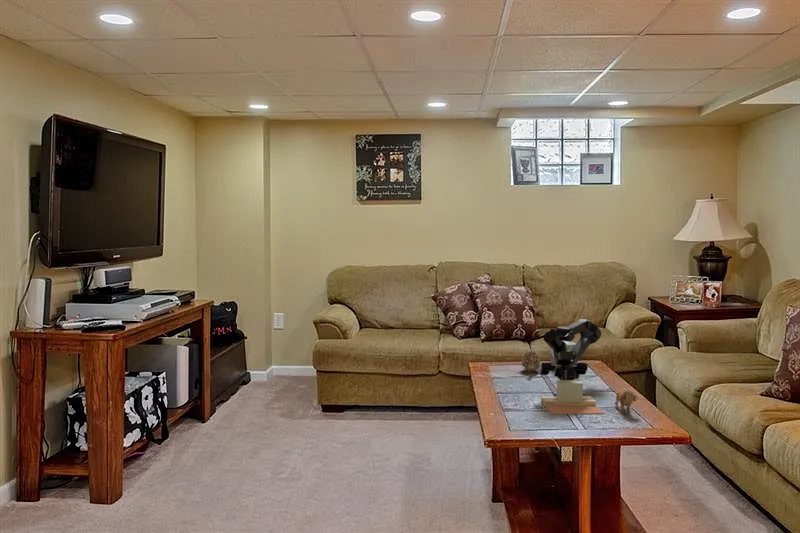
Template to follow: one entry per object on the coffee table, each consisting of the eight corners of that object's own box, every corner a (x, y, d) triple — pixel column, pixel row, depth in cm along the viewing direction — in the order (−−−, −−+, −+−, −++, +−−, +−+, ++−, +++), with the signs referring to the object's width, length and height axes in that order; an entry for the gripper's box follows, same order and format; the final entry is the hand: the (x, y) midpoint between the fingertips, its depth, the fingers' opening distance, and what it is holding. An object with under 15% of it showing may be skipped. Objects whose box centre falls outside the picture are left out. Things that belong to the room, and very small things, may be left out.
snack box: (549, 365, 312) (549, 336, 311) (559, 365, 313) (559, 336, 312) (567, 375, 291) (568, 344, 290) (578, 374, 292) (579, 343, 291)
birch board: (541, 401, 248) (541, 396, 248) (590, 401, 248) (590, 396, 247) (545, 406, 241) (545, 401, 241) (595, 406, 241) (595, 401, 240)
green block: (556, 398, 245) (556, 380, 244) (579, 398, 245) (579, 380, 244) (559, 402, 240) (559, 383, 239) (582, 401, 240) (582, 383, 239)
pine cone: (519, 367, 308) (520, 348, 308) (539, 368, 307) (539, 348, 306) (522, 378, 286) (522, 357, 286) (543, 378, 285) (543, 357, 284)
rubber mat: (545, 406, 240) (545, 406, 240) (596, 406, 240) (596, 405, 240) (551, 414, 231) (551, 413, 231) (604, 413, 231) (604, 413, 231)
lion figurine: (639, 415, 228) (639, 392, 228) (625, 416, 228) (625, 392, 227) (620, 404, 243) (620, 382, 242) (607, 405, 242) (608, 382, 242)
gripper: (541, 343, 249) (546, 376, 239) (586, 342, 249) (594, 375, 238) (537, 357, 258) (542, 390, 247) (581, 357, 257) (588, 390, 247)
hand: (566, 386), depth 245 cm, fingers closed
